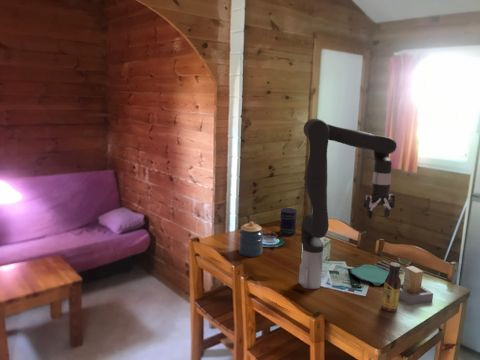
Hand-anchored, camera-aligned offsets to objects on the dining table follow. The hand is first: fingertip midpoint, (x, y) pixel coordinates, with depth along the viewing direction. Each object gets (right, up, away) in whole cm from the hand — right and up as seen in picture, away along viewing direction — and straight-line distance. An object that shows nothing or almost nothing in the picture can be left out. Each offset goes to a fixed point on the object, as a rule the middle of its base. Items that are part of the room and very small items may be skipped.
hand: (377, 217), depth 188 cm
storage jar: (-32, -17, +72) cm, 81 cm away
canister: (-56, -23, +41) cm, 73 cm away
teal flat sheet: (+6, -30, +18) cm, 35 cm away
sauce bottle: (0, -36, -15) cm, 39 cm away
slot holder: (+13, -34, -4) cm, 37 cm away
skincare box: (+13, -34, -5) cm, 36 cm away
